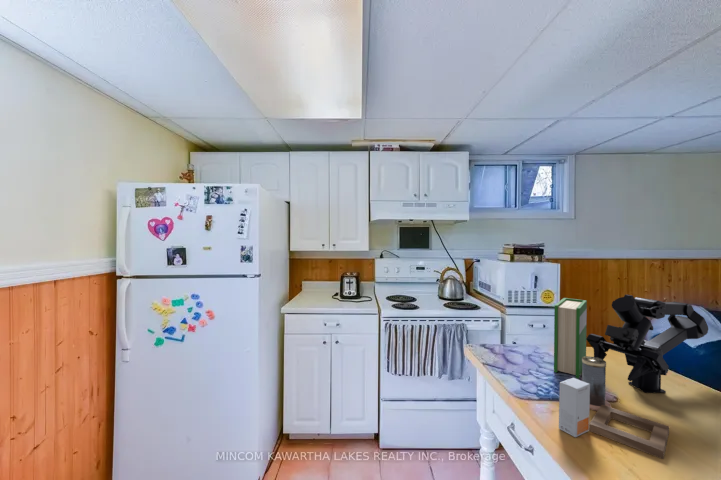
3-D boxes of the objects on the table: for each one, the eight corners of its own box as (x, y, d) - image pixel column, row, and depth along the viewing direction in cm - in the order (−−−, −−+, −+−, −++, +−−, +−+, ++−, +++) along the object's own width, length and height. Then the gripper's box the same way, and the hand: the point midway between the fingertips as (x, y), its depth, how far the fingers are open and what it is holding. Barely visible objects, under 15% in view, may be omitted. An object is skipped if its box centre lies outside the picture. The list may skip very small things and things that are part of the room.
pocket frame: (601, 410, 88) (601, 404, 88) (668, 433, 78) (669, 426, 78) (589, 430, 79) (589, 423, 79) (663, 459, 69) (663, 451, 69)
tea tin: (601, 398, 93) (601, 357, 93) (609, 408, 88) (609, 365, 87) (578, 394, 95) (579, 355, 95) (585, 404, 89) (585, 362, 89)
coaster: (596, 396, 95) (596, 394, 95) (618, 411, 87) (618, 408, 87) (570, 397, 95) (570, 394, 95) (589, 411, 87) (589, 408, 87)
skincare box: (576, 438, 76) (576, 389, 76) (558, 428, 79) (558, 381, 79) (590, 431, 78) (590, 383, 78) (572, 422, 82) (572, 376, 82)
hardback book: (578, 378, 108) (579, 308, 107) (553, 372, 112) (554, 305, 112) (585, 362, 121) (586, 300, 120) (563, 357, 126) (563, 297, 125)
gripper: (589, 309, 104) (567, 347, 100) (660, 323, 87) (636, 370, 83) (605, 329, 107) (583, 367, 103) (676, 347, 90) (653, 394, 86)
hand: (610, 373), depth 94 cm, fingers open, 9 cm apart
